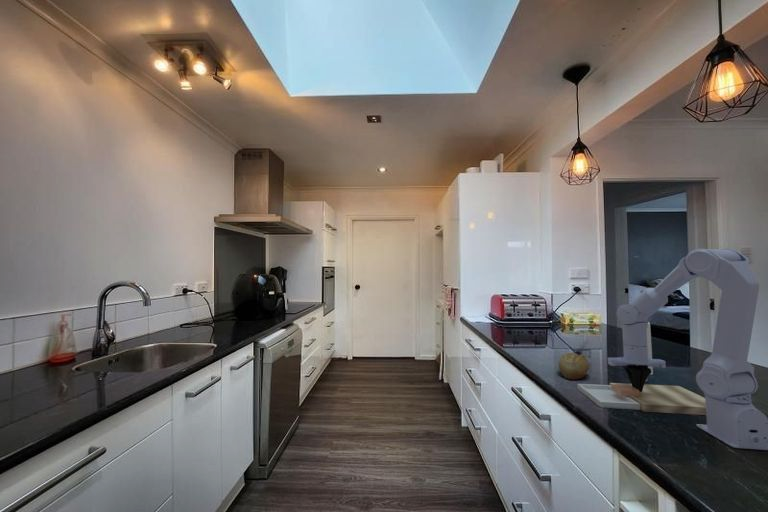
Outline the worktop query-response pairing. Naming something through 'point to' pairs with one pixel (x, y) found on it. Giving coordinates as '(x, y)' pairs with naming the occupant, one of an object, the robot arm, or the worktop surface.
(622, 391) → the terracotta tile
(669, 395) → the chopping board
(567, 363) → the bread roll
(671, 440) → the worktop surface
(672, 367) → the worktop surface
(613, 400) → the tray
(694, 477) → the worktop surface
